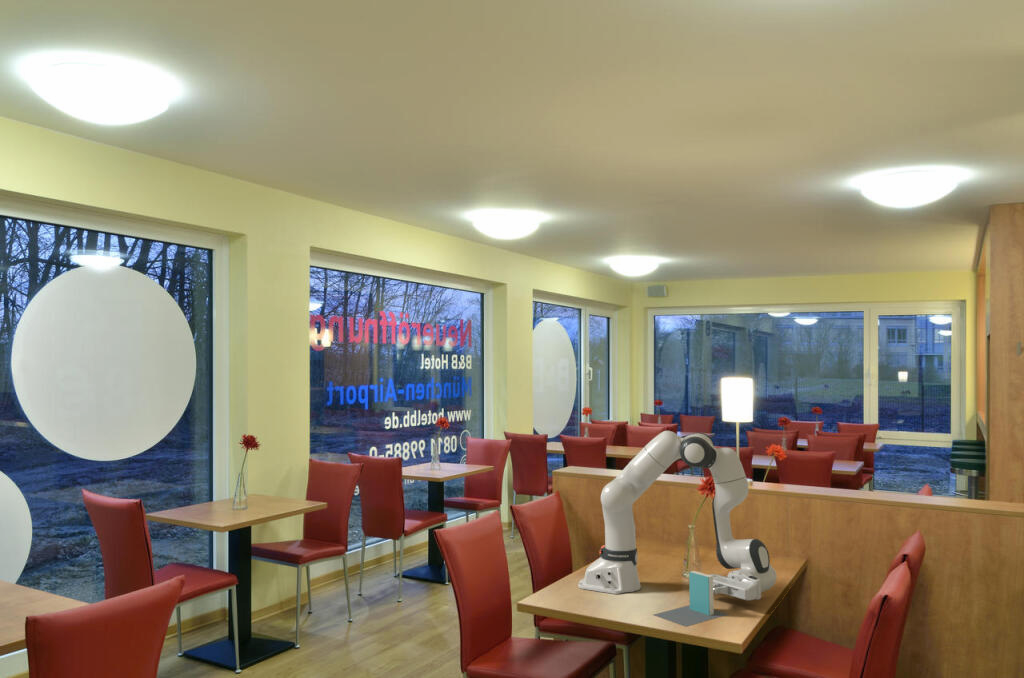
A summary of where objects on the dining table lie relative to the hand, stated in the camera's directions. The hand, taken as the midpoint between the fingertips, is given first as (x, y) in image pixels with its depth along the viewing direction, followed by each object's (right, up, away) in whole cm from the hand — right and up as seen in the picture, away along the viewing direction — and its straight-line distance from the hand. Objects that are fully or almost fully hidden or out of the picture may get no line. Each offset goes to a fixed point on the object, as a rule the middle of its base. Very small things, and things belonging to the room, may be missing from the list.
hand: (712, 590), depth 249 cm
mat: (-8, -6, -6) cm, 12 cm away
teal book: (-4, -6, -3) cm, 8 cm away
